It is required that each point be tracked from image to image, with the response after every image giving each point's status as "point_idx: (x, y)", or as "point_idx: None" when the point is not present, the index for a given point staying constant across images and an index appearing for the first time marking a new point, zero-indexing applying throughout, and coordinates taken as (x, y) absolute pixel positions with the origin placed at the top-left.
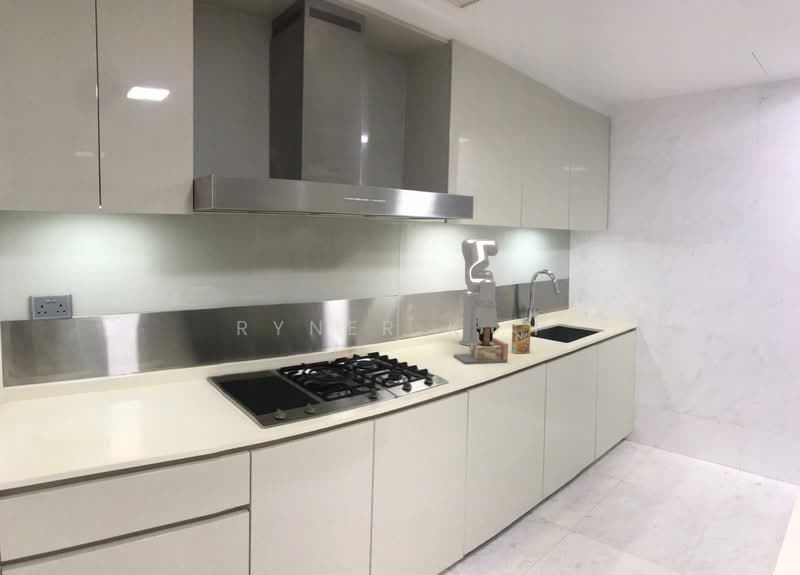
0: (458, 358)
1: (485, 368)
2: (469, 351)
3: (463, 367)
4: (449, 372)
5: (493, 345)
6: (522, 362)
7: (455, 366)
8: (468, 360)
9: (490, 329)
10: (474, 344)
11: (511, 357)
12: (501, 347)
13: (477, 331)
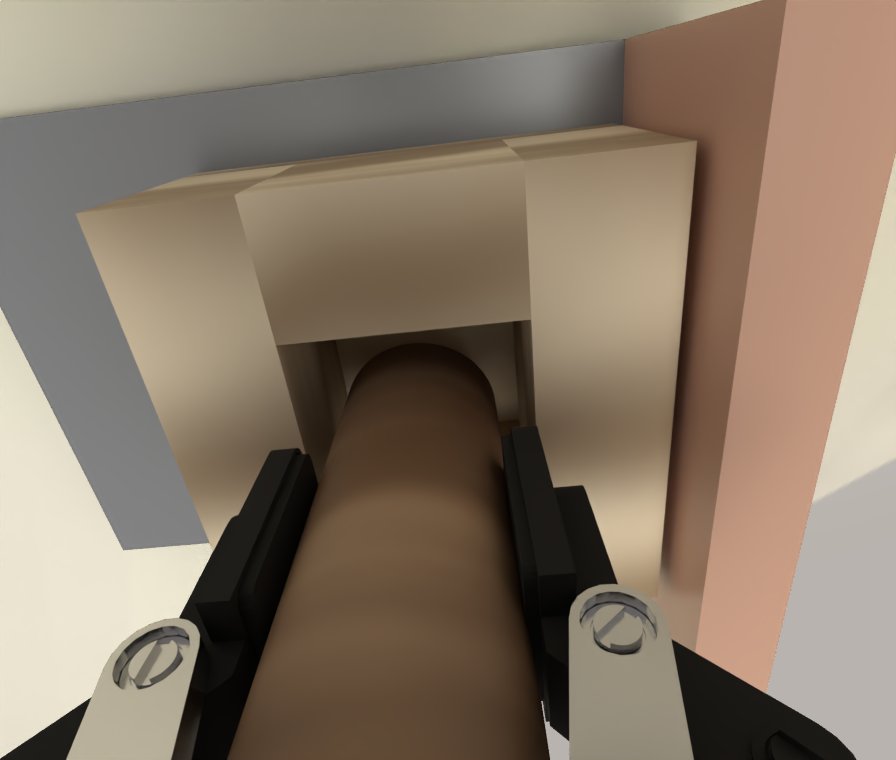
0: (35, 353)
1: None
2: (172, 182)
3: (125, 622)
4: (12, 729)
5: (569, 477)
6: (838, 482)
7: (42, 592)
8: (168, 500)
9: (618, 747)
10: (188, 383)
11: (891, 213)
12: (648, 592)
13: (65, 727)
